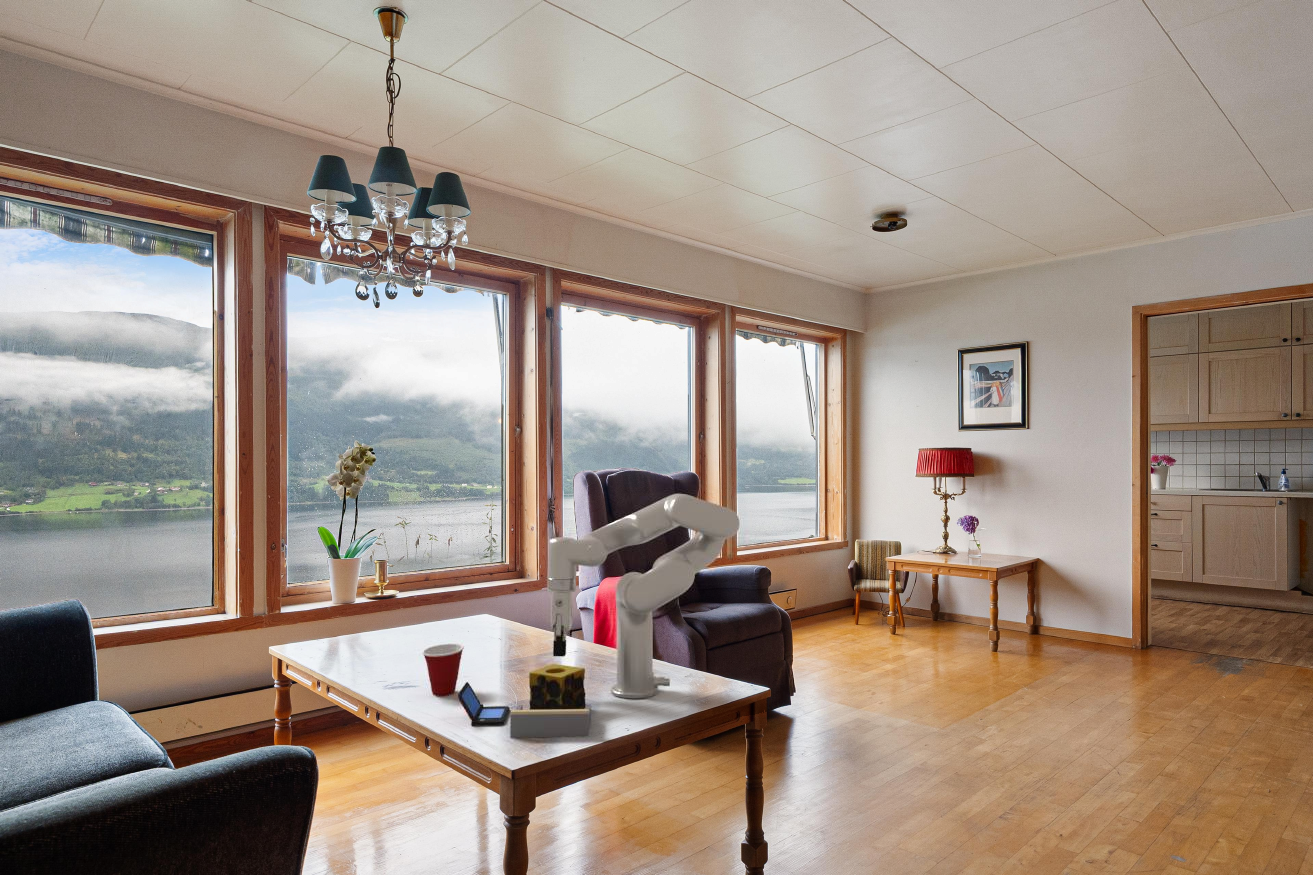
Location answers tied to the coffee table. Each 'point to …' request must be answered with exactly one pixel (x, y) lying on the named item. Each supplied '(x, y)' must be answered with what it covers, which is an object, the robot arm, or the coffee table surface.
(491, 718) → the handheld game console
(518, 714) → the holder
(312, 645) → the coffee table surface
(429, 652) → the plastic cup
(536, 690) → the yellow and black cube
